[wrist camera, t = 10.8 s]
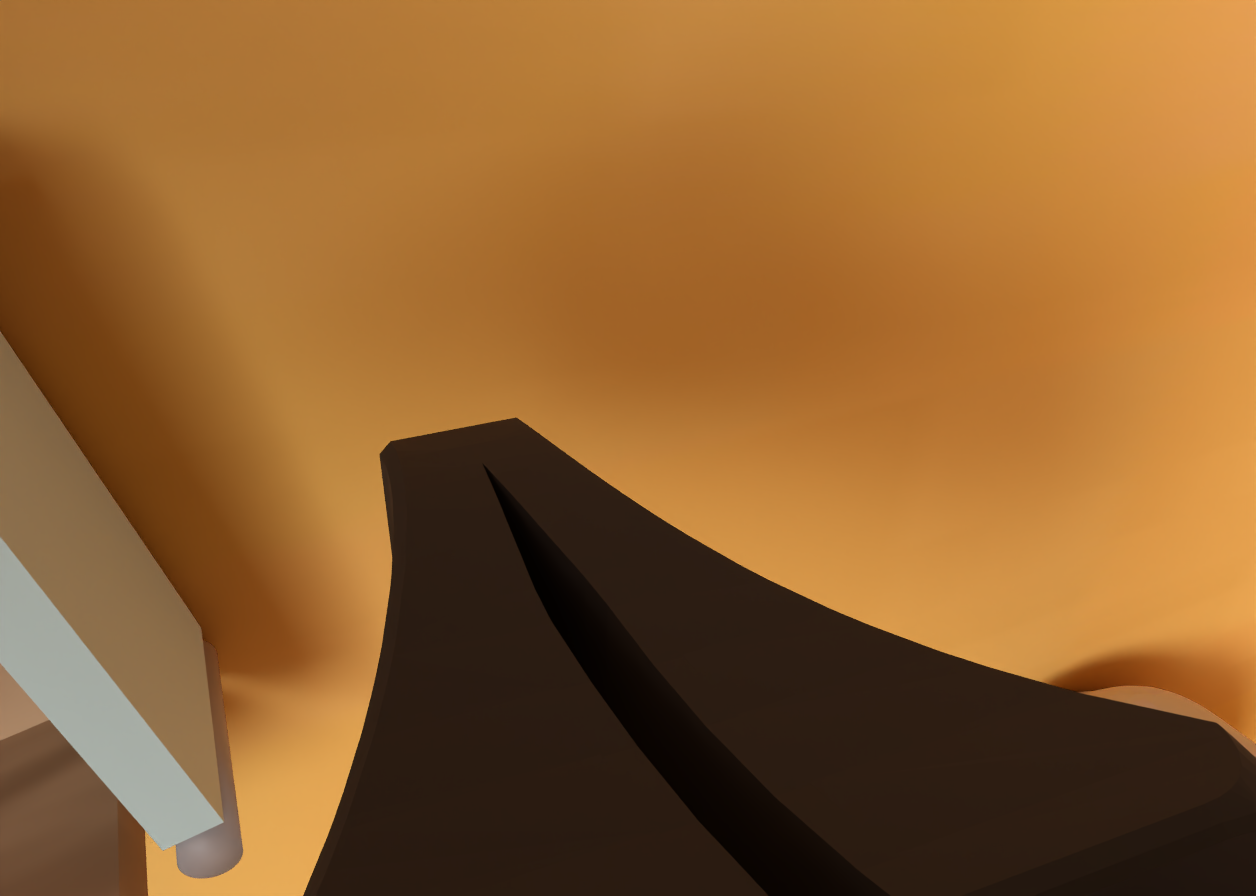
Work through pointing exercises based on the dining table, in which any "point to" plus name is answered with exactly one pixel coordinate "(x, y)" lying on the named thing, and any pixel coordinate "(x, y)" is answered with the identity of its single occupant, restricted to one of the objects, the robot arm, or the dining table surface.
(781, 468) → the dining table surface
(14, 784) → the cabinet
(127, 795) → the door
